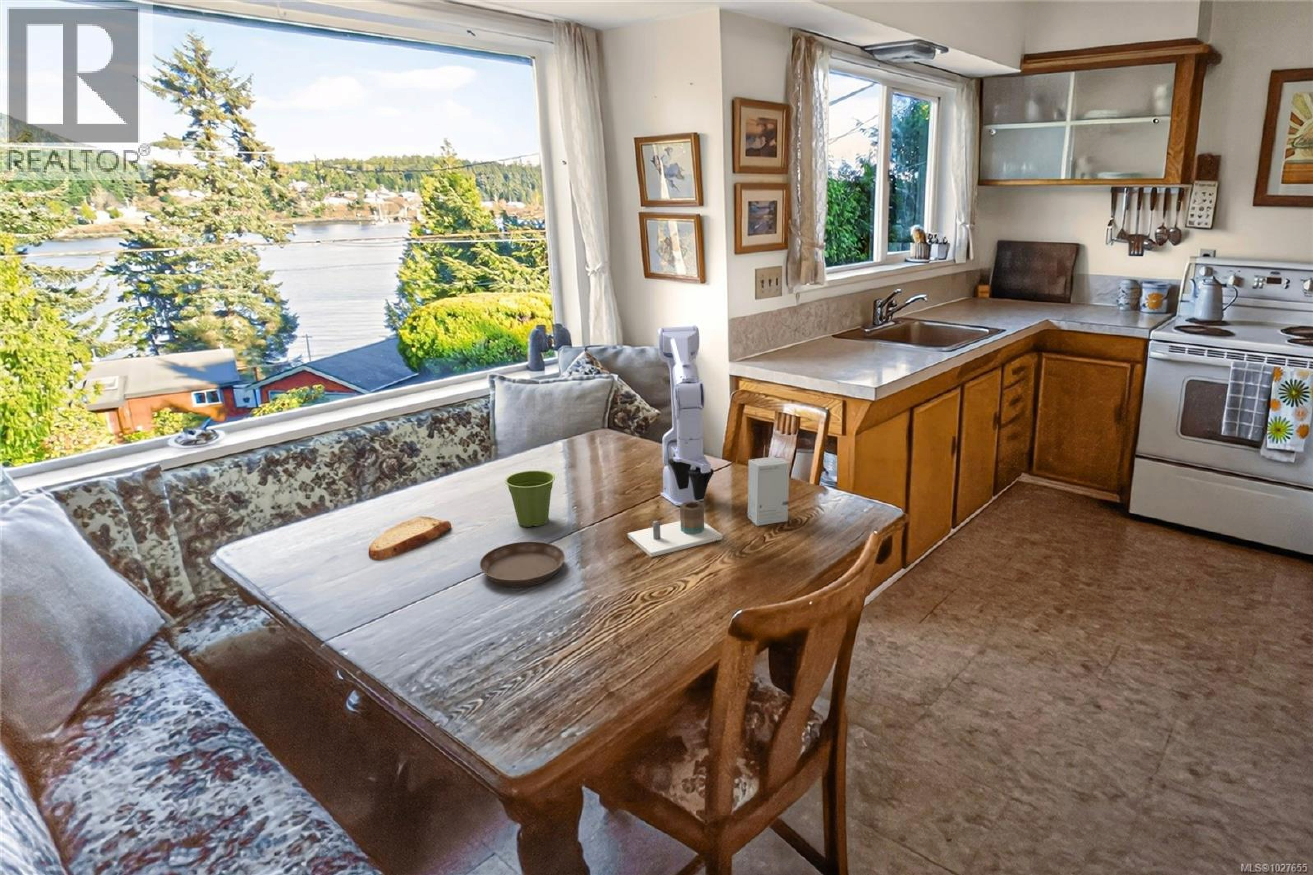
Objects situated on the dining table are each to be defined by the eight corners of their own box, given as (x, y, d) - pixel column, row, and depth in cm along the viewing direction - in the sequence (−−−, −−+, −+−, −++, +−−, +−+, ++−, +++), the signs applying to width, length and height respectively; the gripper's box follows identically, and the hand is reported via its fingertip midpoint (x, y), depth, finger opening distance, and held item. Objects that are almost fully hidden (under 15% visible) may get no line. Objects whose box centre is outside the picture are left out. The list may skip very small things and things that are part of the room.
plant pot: (549, 533, 182) (545, 488, 179) (501, 530, 185) (497, 486, 181) (564, 513, 193) (561, 470, 190) (519, 511, 196) (515, 469, 192)
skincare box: (757, 526, 181) (757, 466, 177) (746, 517, 187) (746, 458, 182) (789, 521, 184) (790, 462, 179) (778, 512, 189) (779, 454, 185)
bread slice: (366, 563, 171) (363, 548, 170) (375, 531, 188) (373, 517, 187) (450, 553, 175) (448, 537, 173) (452, 522, 191) (450, 508, 190)
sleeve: (677, 528, 180) (677, 504, 178) (696, 523, 182) (696, 499, 180) (688, 536, 175) (687, 511, 174) (707, 531, 177) (706, 506, 176)
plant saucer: (583, 568, 165) (582, 555, 164) (516, 601, 152) (515, 587, 151) (529, 546, 176) (528, 534, 175) (463, 575, 164) (462, 562, 163)
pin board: (627, 537, 178) (626, 516, 177) (696, 520, 186) (696, 501, 184) (650, 557, 168) (650, 535, 167) (722, 539, 176) (722, 518, 174)
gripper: (659, 431, 176) (661, 487, 180) (689, 448, 164) (691, 507, 168) (686, 426, 179) (687, 481, 183) (718, 442, 167) (719, 501, 171)
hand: (691, 493), depth 176 cm, fingers open, 7 cm apart
